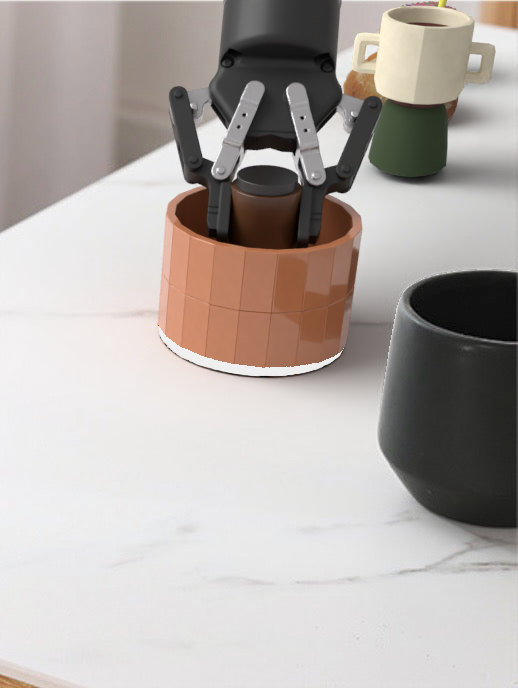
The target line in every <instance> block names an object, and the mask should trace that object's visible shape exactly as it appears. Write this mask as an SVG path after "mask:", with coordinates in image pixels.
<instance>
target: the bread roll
mask: <svg viewBox="0 0 518 688" xmlns="http://www.w3.org/2000/svg"><path fill="white" fill-rule="evenodd" d="M376 59H377V51H375V52H373V53H371V54H370V55H368V57H367V58H366V59H364V60H365V61H366V62H376ZM345 78H346V79H345V80H344V81H343V84H342V91H343V94H346V95H349V96H352V97H355V98H358V99H362V100H365V99H366V98H367V97H369V96H376V97H379V98H380V99H381V100H382V103H383V105H384V103H385V102H386V100H388V99H389V98H386V97H384V96H382V95H381V94H379V93H378V92H377V91H376V86H375V81H374V74H369V73H358V72H356V71H354V70H353V69H351V70H350V71H349V73H348V74H347V75H346V77H345ZM458 103H459V96H458V97H457V99H456V100H452V101H449V102H446V103H444V105H445V107H446V110H447V113H448V121H449V120H450V119H451V118H452V117H453V115H454V114H455V112H456V110H457V107H458V105H459V104H458Z"/></svg>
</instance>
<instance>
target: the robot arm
mask: <svg viewBox="0 0 518 688" xmlns="http://www.w3.org/2000/svg"><path fill="white" fill-rule="evenodd" d="M222 2H223V11H222V20H221V21H222V22H221V32H220V43H219V54H218V62H217V63H218V65H217V71H216V73H215V75H214V76H213V77H212V79H211V80H210V81H209V84H208V86H207V87H202V88H197V89H193V90H187V89H186V88H185V87H184V86H181V85H175V86H173V87H172V88H171V89H169V92H168V115H169V119H170V124H171V127H172V132H173V136H174V141H175V146H176V149H177V153H178V158H179V162H180V167H181V171H182V176H183V179H184V181H185V182H186V183H187V184H189V185H196V184H197V185H200V186H204V187H206V188H207V190H208V191H209V203H208V214H207V227H206V230H207V233H208V236H209V237H211V238H217V239H216V241H218V242H222V243H227V240H228V229H229V217H230V206H231V195H232V189H231V186H232V183H233V181H234V180H235V179H234V178H235V177H236V175H237V172H238V171H239V168H241V165H242V163H243V161H244V158H245V156H246V154H247V151H263V150H267V149H268V150H269V149H271V150H275V151H278V152H280V153H291V157H292V160H293V164H294V167H295V170H296V171H297V175H298V179H299V183H300V184H301V186H302V187H301V189H302V192H301V200H300V209H299V218H298V227H297V237H296V248H295V249H300V248H308V244H314V245H315V244H316V242H317V240H318V238H319V235H320V231H321V222H322V207H323V198H324V197H325V196H326V195H331V194H334V193H338V194H347V193H348V192H350V191H351V189H352V187H353V185H354V182H355V181H356V177H357V175H358V173H359V170H360V168H361V165H362V162H363V161H364V158H365V156H366V153H367V151H368V149H369V147H370V145H371V142H372V139H373V135H374V132H375V129H376V127H377V124H378V121H379V117H380V114H381V110H382V106H383V103H382V100H381V99H380V98H379V97H376V96H369V97H367V98H366V99H365V100H362V99H358V98H355V97H352V96H349V95H346V94H344V91H343V87H342V86H341V84H340V82H339V80H338V78H337V60H338V48H339V35H340V34H339V32H340V31H339V30H340V19H341V18H340V17H341V8H342V3H343V2H342V0H223V1H222ZM208 107H210V108H211V109H212V111H213V112H214V113H215V115H216V117H218V119H219V121H220V122H221V123H222V126H223V127H224V128H225V130H226V132H225V134H224V137H223V140H222V144H221V147H220V150H219V151H218V153H217V155H216V158H215V160H214V161H213V160H210V159H207V158H205V157H203V153H202V152H203V151H202V148H201V144H200V139H199V136H198V132H197V127H196V126H198V125H200V124H201V123H202V122H203V118H204V111H205V109H206V108H208ZM337 113H338V114H340V116H341V117H342V119H343V121H342V129H343V130H344V131H345V132H346V133H347V134H349V136H348V137H347V140H346V143H345V145H344V147H343V150H342V152H341V155H340V157H339V160H338V161H337V164H335V165H331V166H327V167H324V162H323V158H322V155H321V150H320V149H321V148H320V140H319V137H318V133H319V132H320V131H321V129H323V128H324V126H326V125H327V123H328V122H329V121H330V120H331V119H332V118H333V117H334V116H335V115H336V114H337Z"/></svg>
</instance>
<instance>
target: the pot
mask: <svg viewBox="0 0 518 688" xmlns="http://www.w3.org/2000/svg"><path fill="white" fill-rule="evenodd" d="M208 203H209V191H208V190H207V188H206V187H204V186H202V185H200V186H196V187H194V188H191V189H188V190H186V191H183V192H181V193H179V194H177V195H176V196H175V197H174V198H172V199H171V200H170V201H169V202H168V203H167V205H166V211H165V219H164V220H165V221H164V234H163V247H162V262H161V274H160V287H159V302H158V313H157V314H158V316H157V326H158V325H159V327H160V328H161V330H162V331H163V333H164V334H165V335H166V337H168V338H169V339H171V340H172V341H173V342H175V343H176V344H177V345H179V346H180V347H182V348H185V349H188V350H190V351H192V352H194V353H197V354H199V355H201V356H204V357H207V358H212V359H214V360H218V361H222V362H227V363H231V364H239V365H247V366H255V367H262V368H265V367H269V368H270V367H286V366H287V367H290V366H291V367H294V366H300V365H306V364H307V365H308V364H312V363H319V362H322V361H324V360H326V359H329V358H331V357H334V356H335V355H337V354H338V353H340V352H341V351H342V350H343V348H344V346H345V347H346V345H345V344H347V342H348V337H349V330H350V322H351V314H352V308H353V300H354V293H355V286H356V285H355V284H356V278H357V270H358V263H359V257H360V249H361V242H362V236H363V220H362V216H361V215H360V214H359V213H358V211H357V210H356V209H355V208H354V207H353V206H352V205H350V204H349V203H347V202H345V201H343V200H341V199H340V198H337V197H336V196H333V195H331V194H328V195H326V196H325V197H324V198H323V207H322V222H321V231H320V235H319V238H318V240H317V242H316V244H315V245H314V244H308V248H300V249H281V250H274V249H259V248H248V247H242V246H237V245H232V244H227V243H222V242H218V241H216V239H217V238H211V237H209V236H208V233H207V230H206V227H207V214H208Z"/></svg>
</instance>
